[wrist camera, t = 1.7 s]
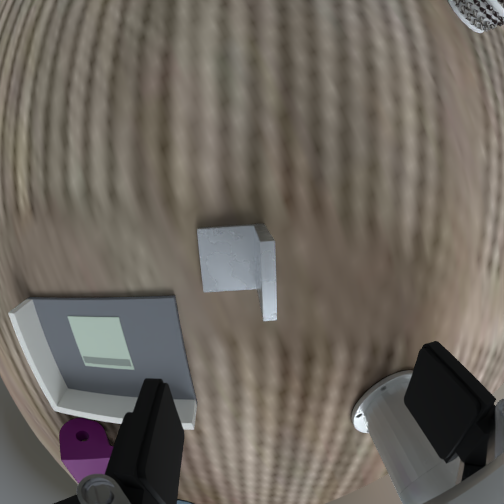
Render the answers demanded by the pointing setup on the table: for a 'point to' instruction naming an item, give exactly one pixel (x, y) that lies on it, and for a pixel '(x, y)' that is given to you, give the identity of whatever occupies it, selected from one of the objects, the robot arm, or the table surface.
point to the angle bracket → (240, 262)
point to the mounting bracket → (84, 448)
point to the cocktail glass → (183, 502)
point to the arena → (104, 353)
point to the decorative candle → (479, 13)
